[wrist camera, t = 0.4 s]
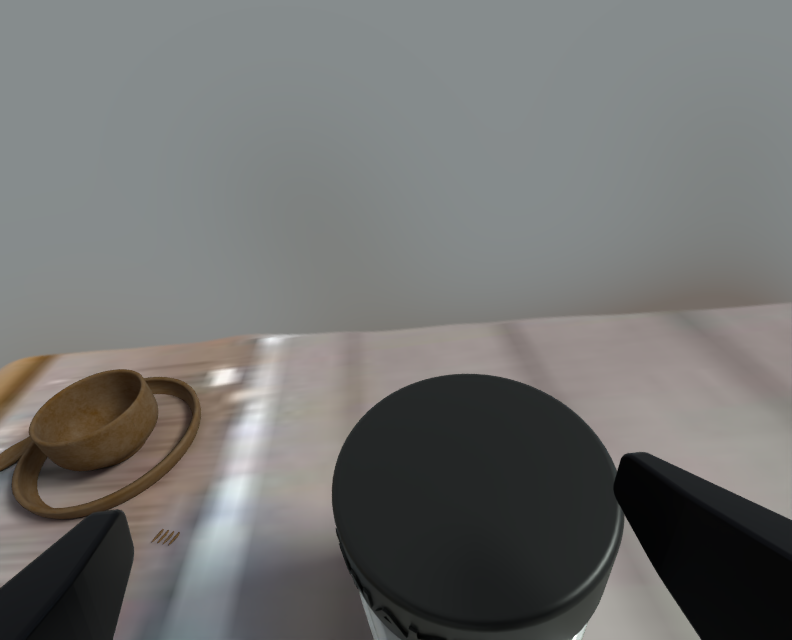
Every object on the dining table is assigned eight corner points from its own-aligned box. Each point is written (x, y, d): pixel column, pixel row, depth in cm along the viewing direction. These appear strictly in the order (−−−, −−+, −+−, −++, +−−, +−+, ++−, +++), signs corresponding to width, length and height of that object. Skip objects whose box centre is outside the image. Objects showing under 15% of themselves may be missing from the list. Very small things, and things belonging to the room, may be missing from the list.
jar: (355, 578, 22) (298, 414, 15) (494, 511, 24) (500, 339, 17) (436, 833, 15) (398, 741, 8) (623, 704, 17) (723, 544, 10)
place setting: (269, 401, 34) (247, 342, 30) (55, 744, 18) (-42, 700, 15) (93, 384, 38) (56, 331, 35) (-205, 650, 22) (-325, 600, 19)
